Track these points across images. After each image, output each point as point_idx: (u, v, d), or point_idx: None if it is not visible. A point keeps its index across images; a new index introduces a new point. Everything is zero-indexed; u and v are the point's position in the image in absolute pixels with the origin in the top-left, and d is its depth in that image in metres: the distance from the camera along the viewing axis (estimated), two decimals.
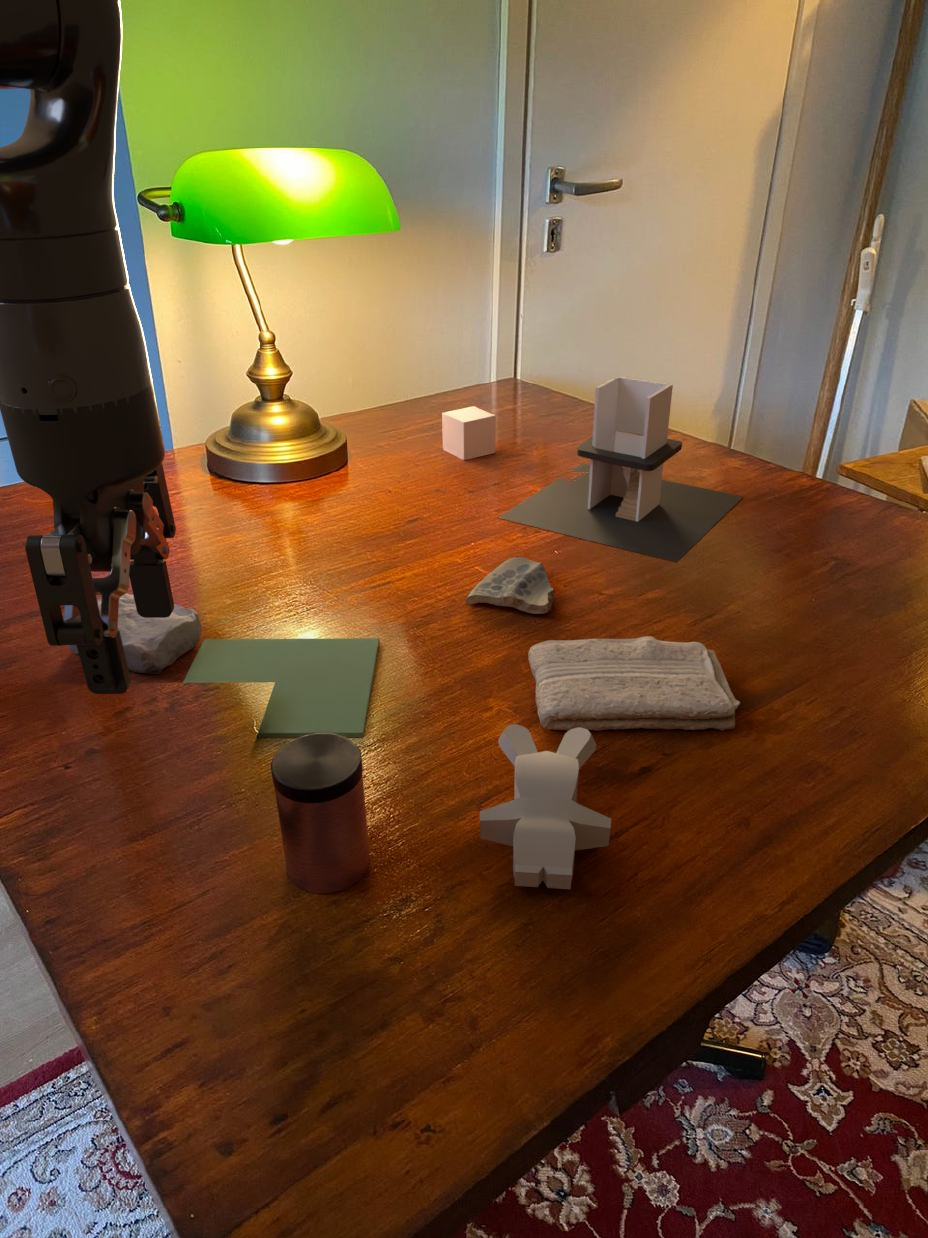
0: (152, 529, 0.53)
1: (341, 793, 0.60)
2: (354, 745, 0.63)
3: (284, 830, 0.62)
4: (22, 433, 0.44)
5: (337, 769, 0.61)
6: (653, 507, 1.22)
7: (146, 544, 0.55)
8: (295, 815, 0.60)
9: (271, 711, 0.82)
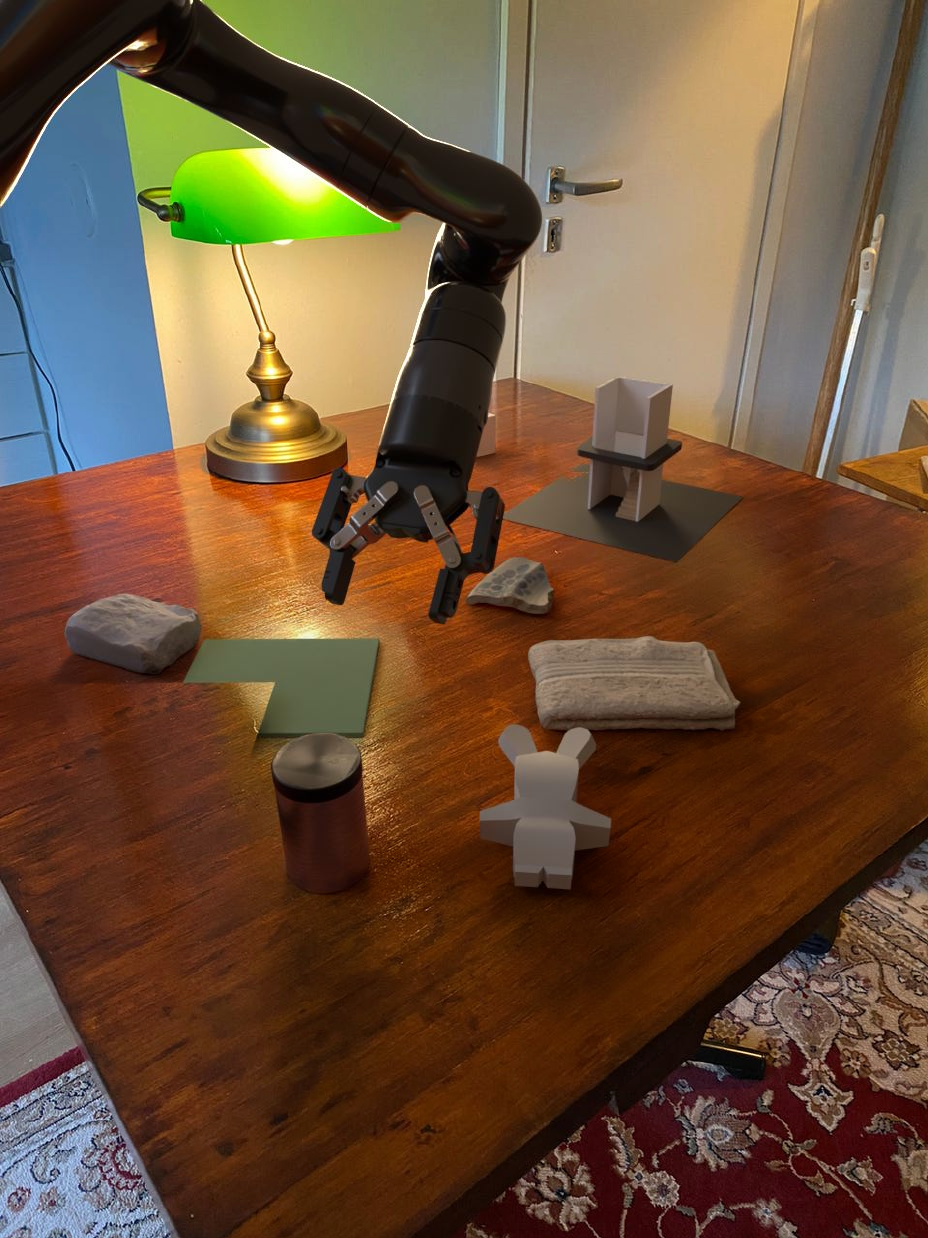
0: None
1: (341, 793, 0.60)
2: (354, 745, 0.63)
3: (284, 830, 0.62)
4: (466, 428, 0.68)
5: (337, 769, 0.61)
6: (653, 507, 1.22)
7: (369, 539, 0.70)
8: (295, 815, 0.60)
9: (271, 711, 0.82)
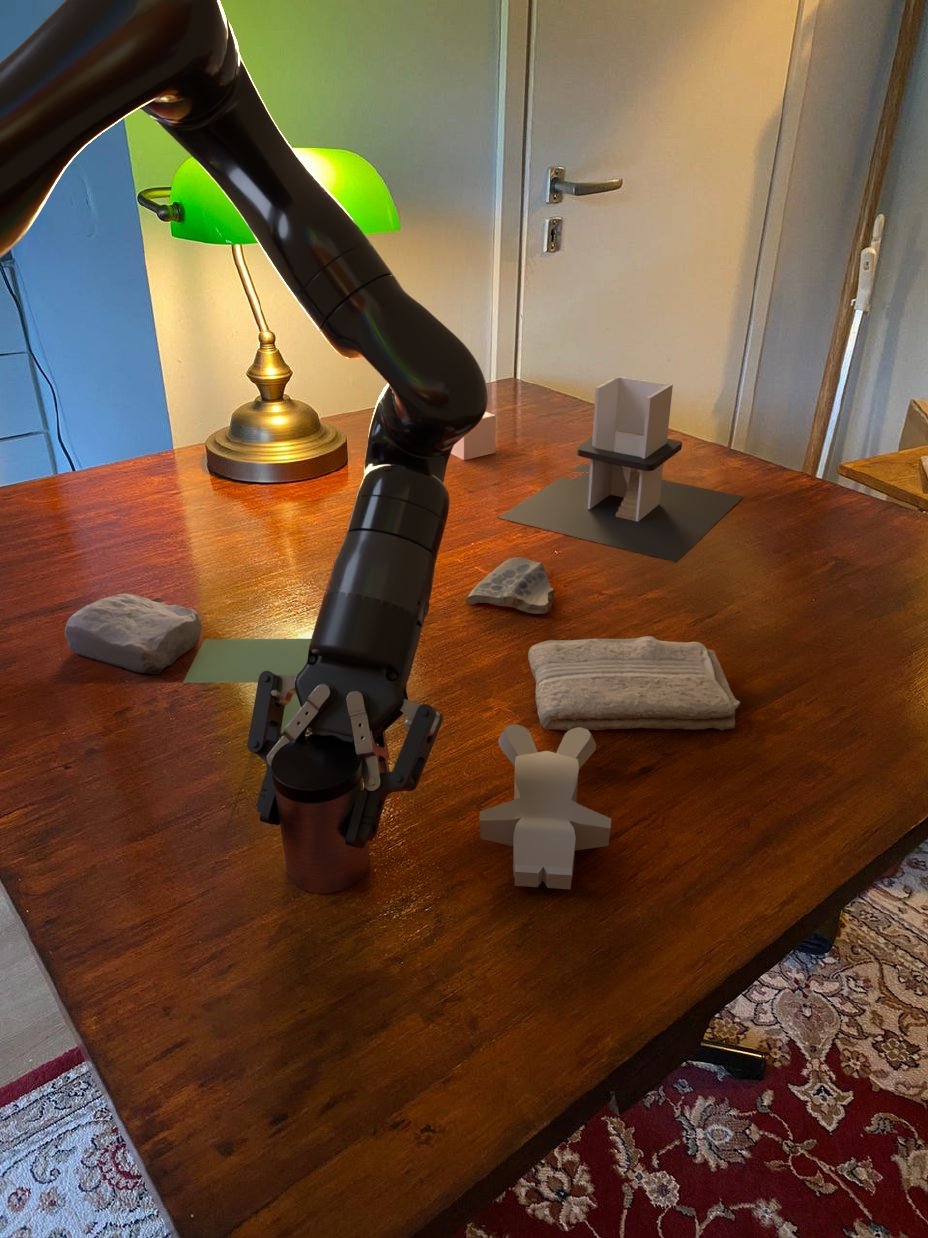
0: None
1: (341, 793, 0.60)
2: (354, 745, 0.63)
3: (284, 830, 0.62)
4: (404, 628, 0.63)
5: (337, 769, 0.61)
6: (653, 507, 1.22)
7: None
8: (295, 815, 0.60)
9: None
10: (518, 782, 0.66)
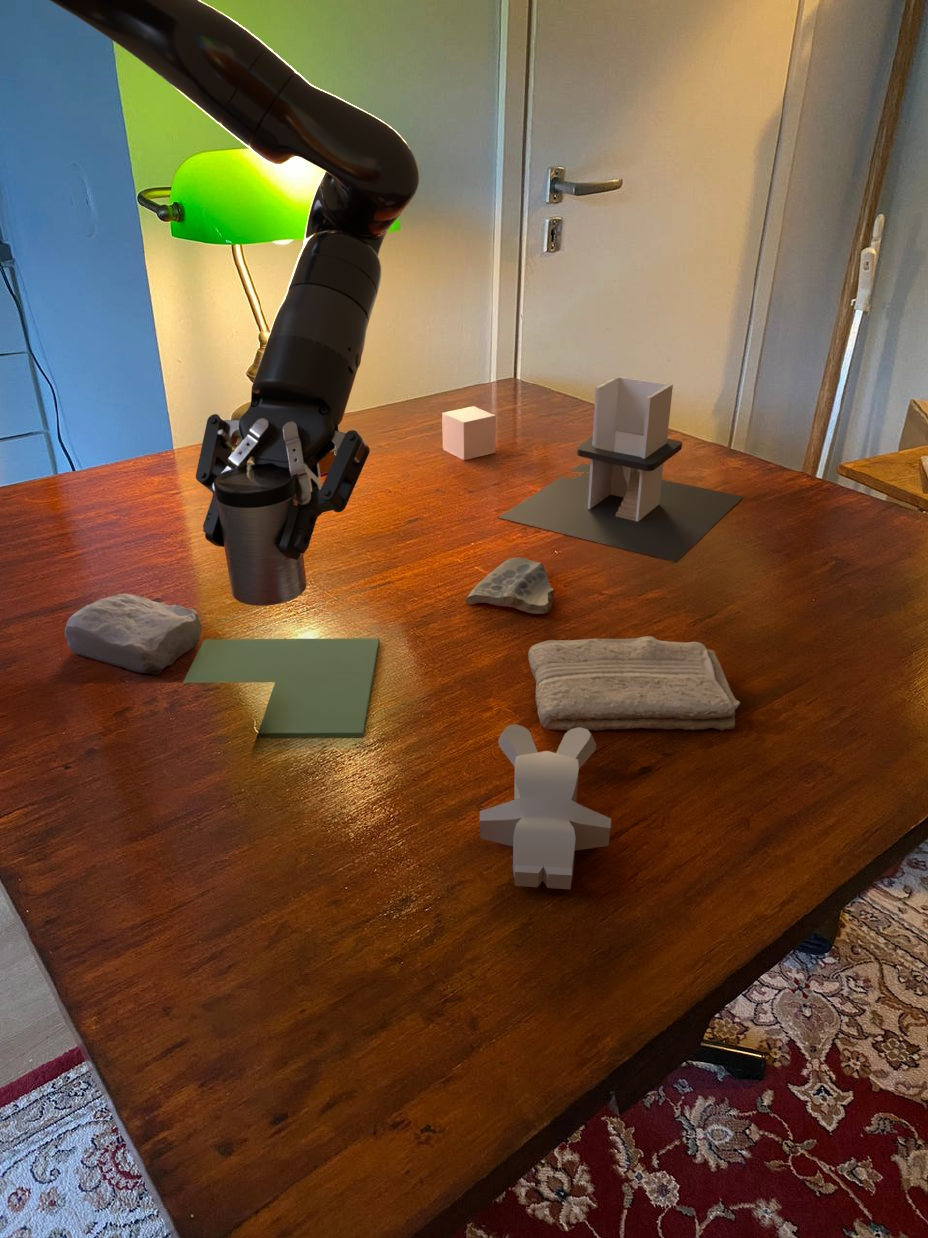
0: None
1: (275, 501, 0.67)
2: (289, 470, 0.70)
3: (226, 543, 0.70)
4: (335, 368, 0.71)
5: (272, 482, 0.68)
6: (653, 507, 1.22)
7: None
8: (234, 522, 0.68)
9: (271, 711, 0.82)
10: (518, 782, 0.66)
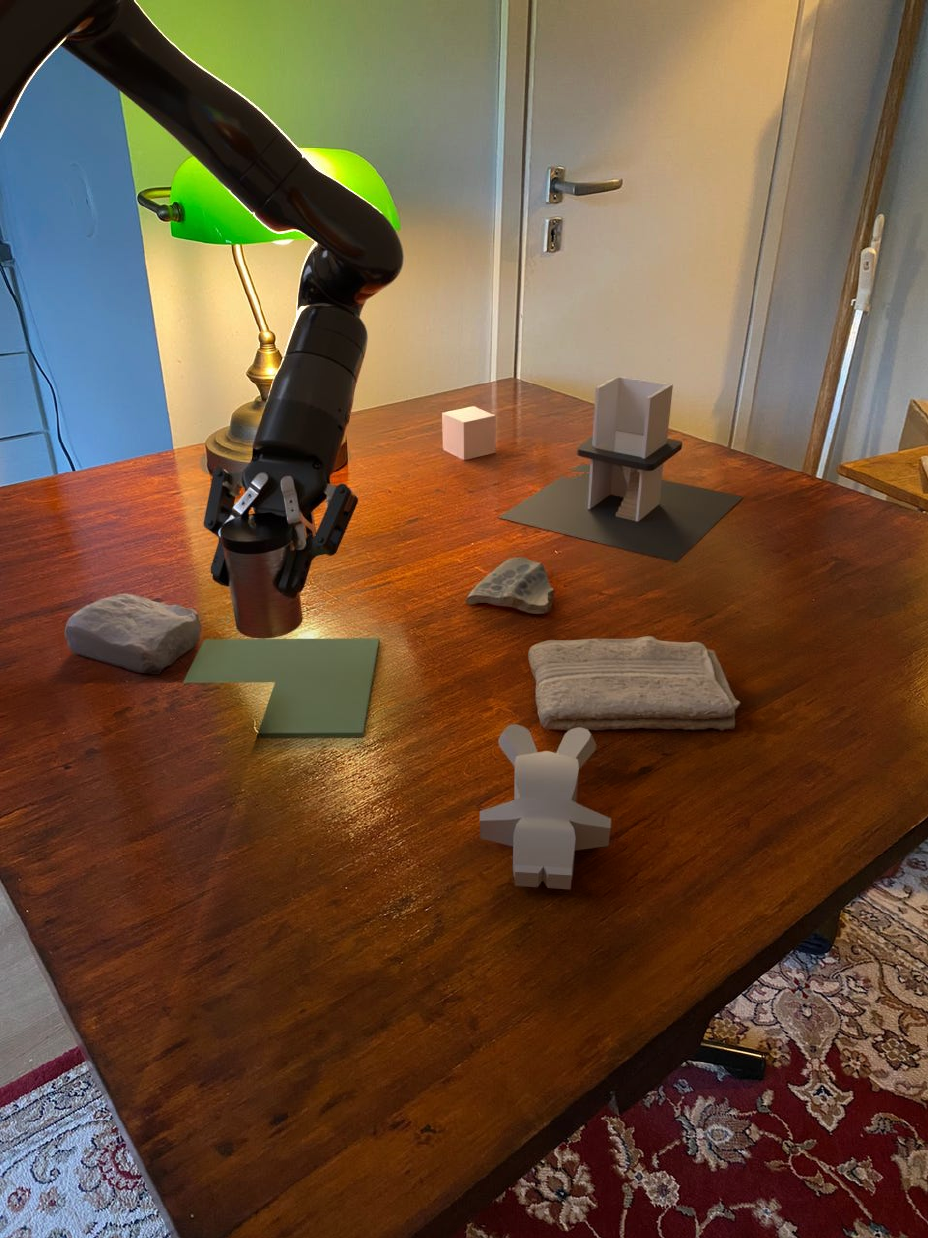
0: None
1: (274, 547, 0.77)
2: None
3: (231, 584, 0.79)
4: (327, 428, 0.80)
5: (271, 531, 0.77)
6: (653, 507, 1.22)
7: None
8: (238, 566, 0.77)
9: (271, 711, 0.82)
10: (518, 782, 0.66)
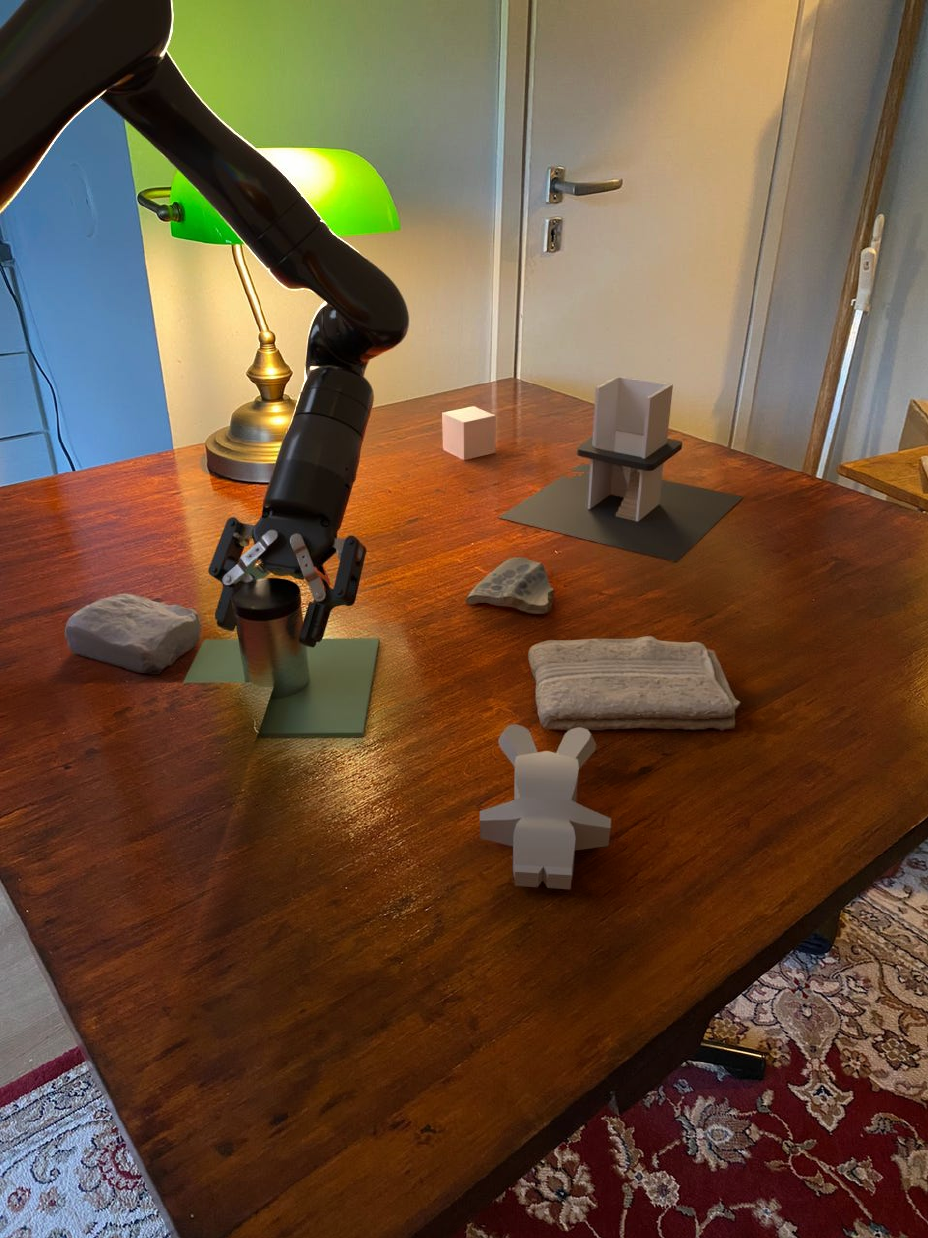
0: None
1: (283, 614, 0.80)
2: (295, 584, 0.83)
3: (242, 647, 0.82)
4: (334, 487, 0.83)
5: (280, 598, 0.80)
6: (653, 507, 1.22)
7: (256, 577, 0.85)
8: (249, 632, 0.80)
9: (271, 711, 0.82)
10: (518, 782, 0.66)
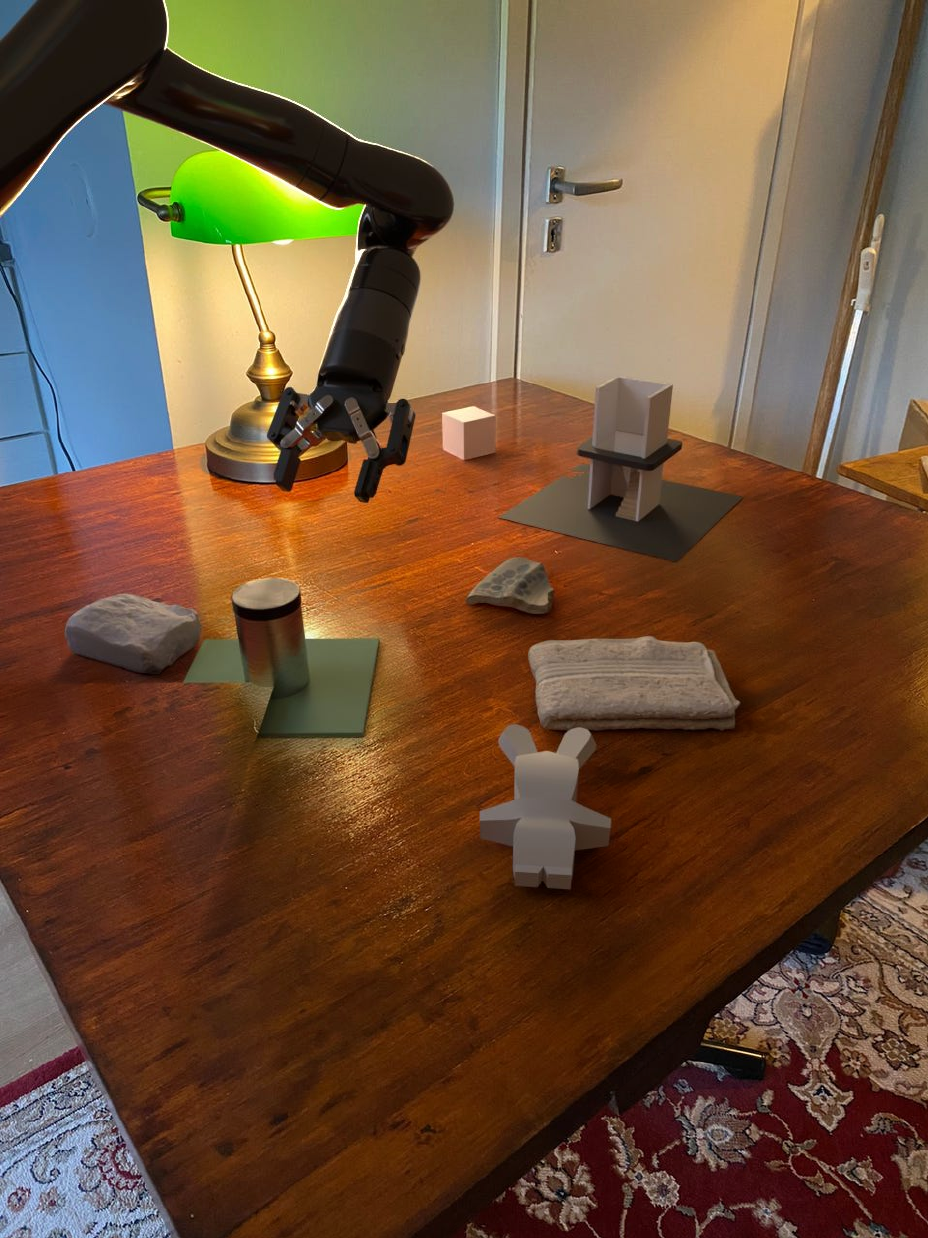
0: None
1: (283, 614, 0.80)
2: (295, 584, 0.83)
3: (242, 647, 0.82)
4: (386, 355, 0.89)
5: (280, 598, 0.80)
6: (653, 507, 1.22)
7: (311, 442, 0.91)
8: (249, 632, 0.80)
9: (271, 711, 0.82)
10: (518, 782, 0.66)
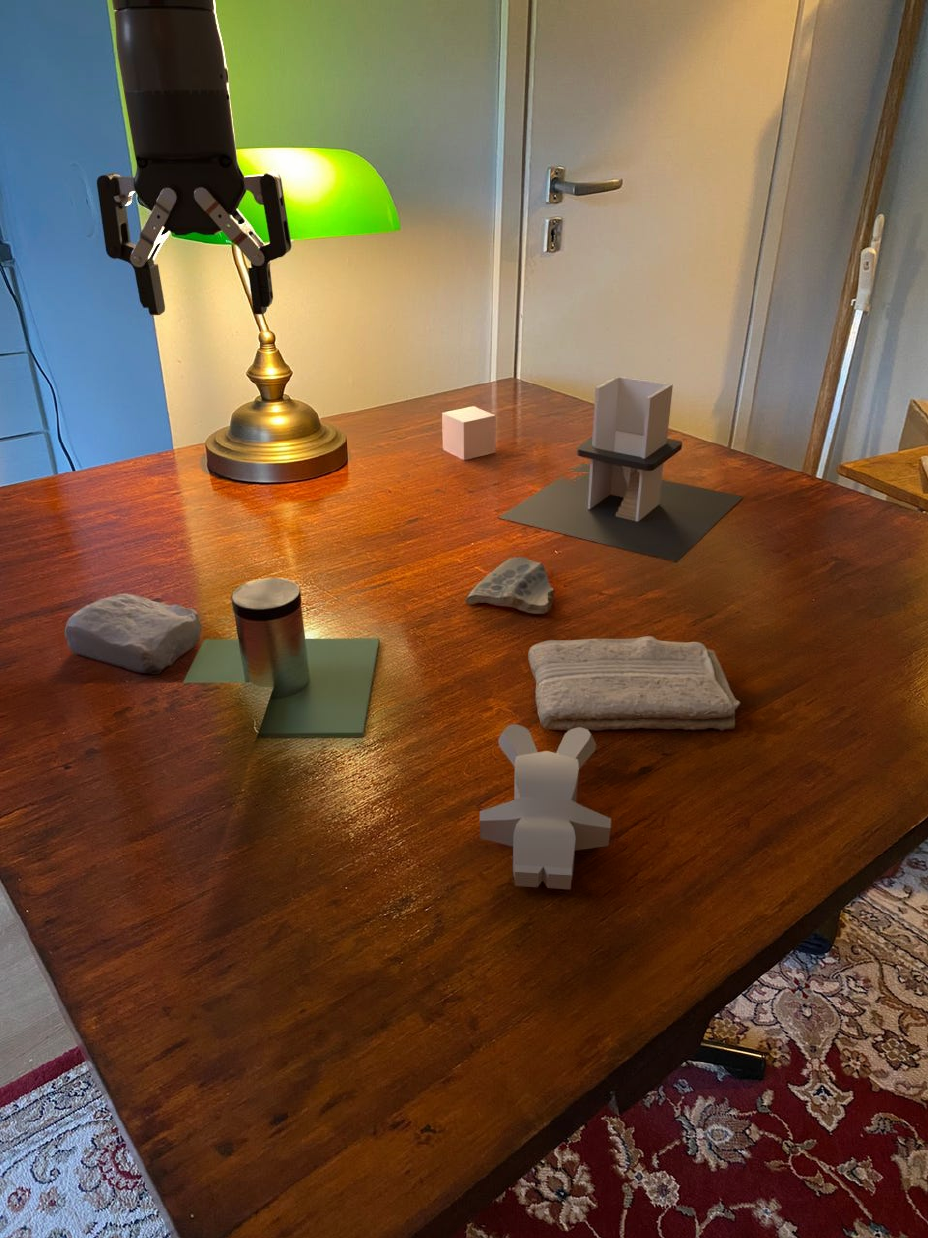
0: None
1: (283, 614, 0.80)
2: (295, 584, 0.83)
3: (242, 647, 0.82)
4: (219, 111, 0.66)
5: (280, 598, 0.80)
6: (653, 507, 1.22)
7: (162, 240, 0.73)
8: (249, 632, 0.80)
9: (271, 711, 0.82)
10: (518, 782, 0.66)
